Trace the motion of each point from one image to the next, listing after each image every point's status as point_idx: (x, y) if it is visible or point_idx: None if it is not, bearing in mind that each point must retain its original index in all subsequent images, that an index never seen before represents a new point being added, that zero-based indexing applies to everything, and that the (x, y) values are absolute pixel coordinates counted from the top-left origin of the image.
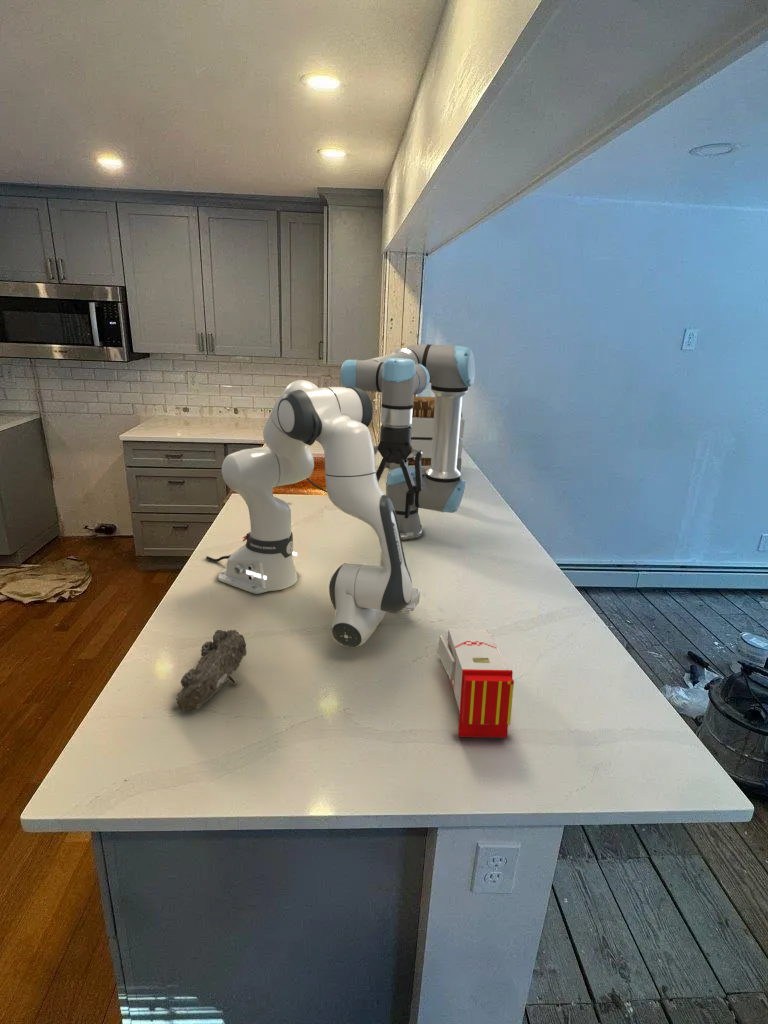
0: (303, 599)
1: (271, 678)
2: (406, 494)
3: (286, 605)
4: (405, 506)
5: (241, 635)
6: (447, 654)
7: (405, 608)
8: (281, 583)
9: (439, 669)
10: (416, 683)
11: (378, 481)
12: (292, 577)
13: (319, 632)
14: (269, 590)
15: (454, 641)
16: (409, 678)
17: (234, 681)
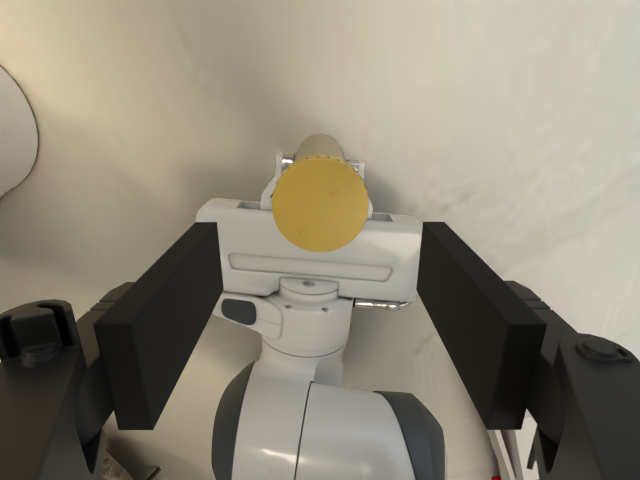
0: (109, 201)
1: (203, 444)
2: (486, 417)
3: (89, 240)
4: (441, 338)
5: (112, 475)
6: (501, 455)
7: (397, 309)
8: (12, 172)
9: None
10: (427, 402)
11: (71, 403)
12: (16, 133)
13: (214, 318)
14: (4, 192)
15: (525, 471)
16: (414, 394)
17: (159, 471)
